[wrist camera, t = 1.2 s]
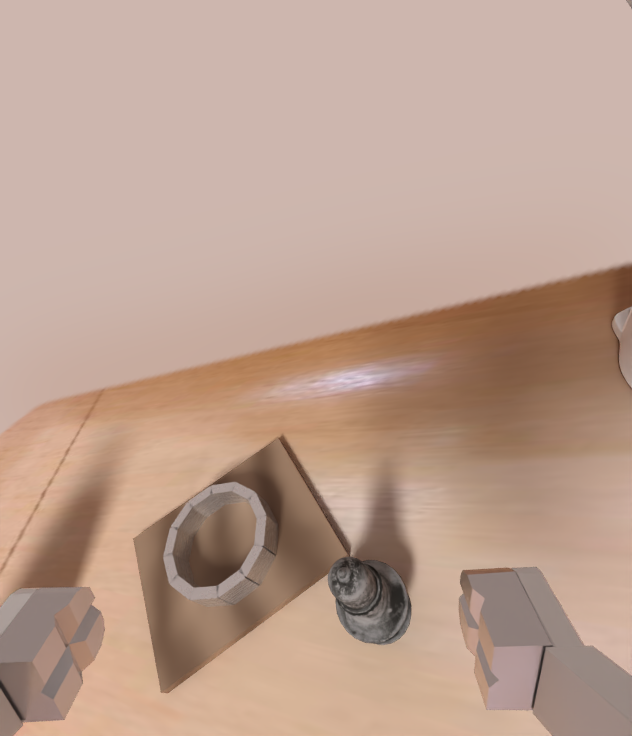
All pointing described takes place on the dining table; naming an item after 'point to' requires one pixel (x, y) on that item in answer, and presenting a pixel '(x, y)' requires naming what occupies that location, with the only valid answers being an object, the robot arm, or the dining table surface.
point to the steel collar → (187, 529)
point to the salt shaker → (370, 600)
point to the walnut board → (234, 565)
